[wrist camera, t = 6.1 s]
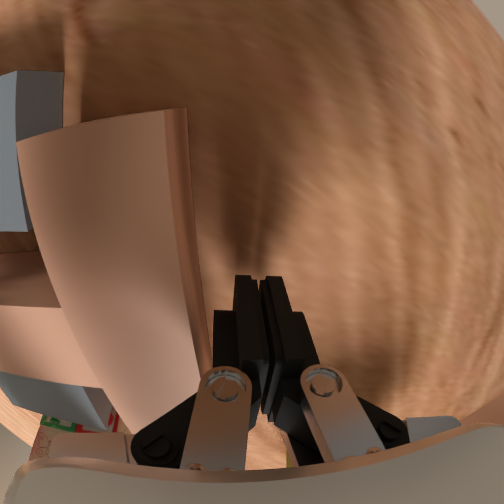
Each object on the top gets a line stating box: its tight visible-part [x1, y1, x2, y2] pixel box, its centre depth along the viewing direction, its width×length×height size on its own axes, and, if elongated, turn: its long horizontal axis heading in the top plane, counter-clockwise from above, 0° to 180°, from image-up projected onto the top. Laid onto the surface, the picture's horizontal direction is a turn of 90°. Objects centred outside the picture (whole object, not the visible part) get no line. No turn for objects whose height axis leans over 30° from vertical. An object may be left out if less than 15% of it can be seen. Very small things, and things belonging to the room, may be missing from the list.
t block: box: [0, 107, 213, 434], centre depth 10 cm, size 13×14×4 cm
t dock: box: [0, 70, 112, 430], centre depth 10 cm, size 7×17×3 cm, turn 175°
